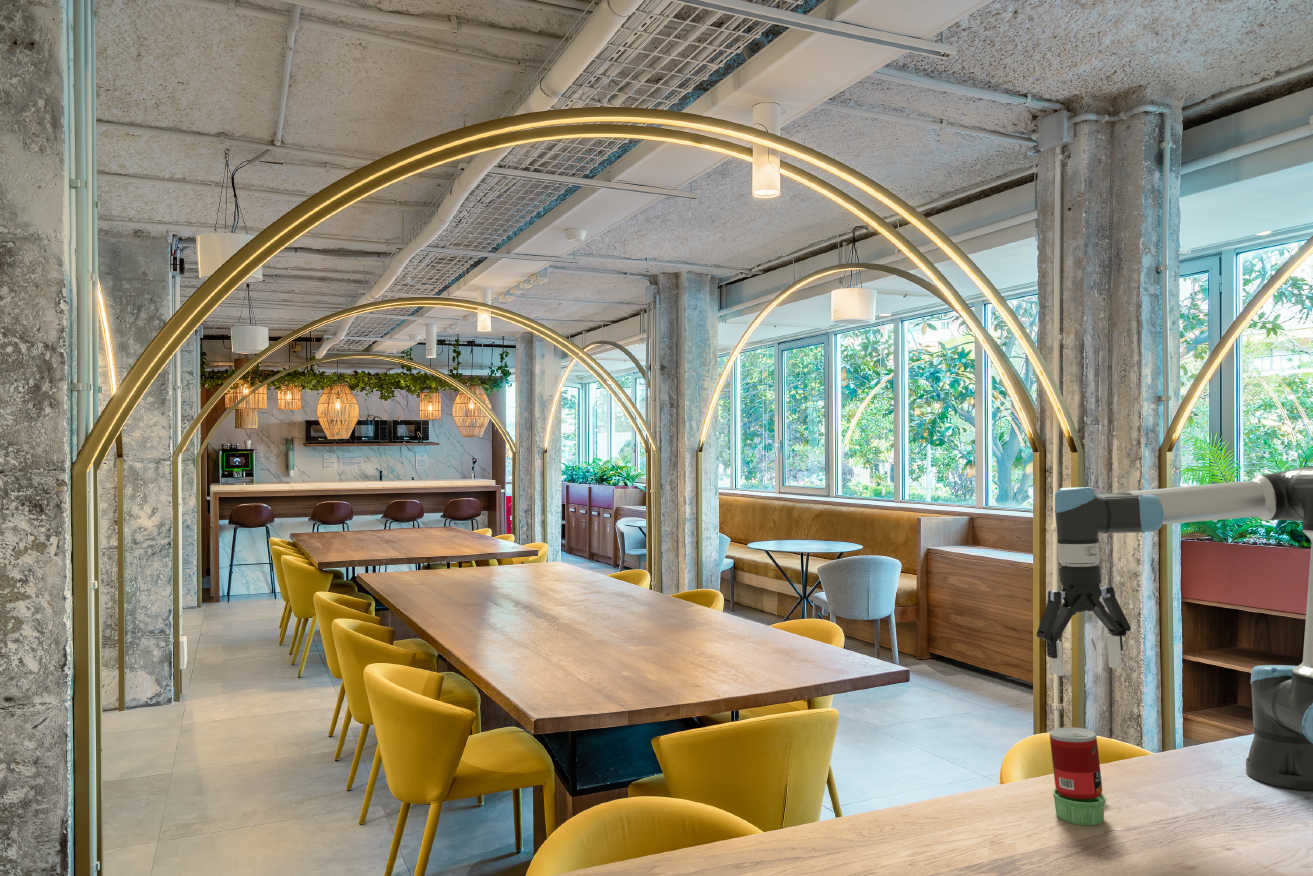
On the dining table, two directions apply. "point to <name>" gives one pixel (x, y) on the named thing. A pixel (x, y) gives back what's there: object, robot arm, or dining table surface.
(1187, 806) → the dining table surface
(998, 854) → the dining table surface
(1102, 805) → the ramekin
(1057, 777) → the canned food
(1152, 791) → the dining table surface
